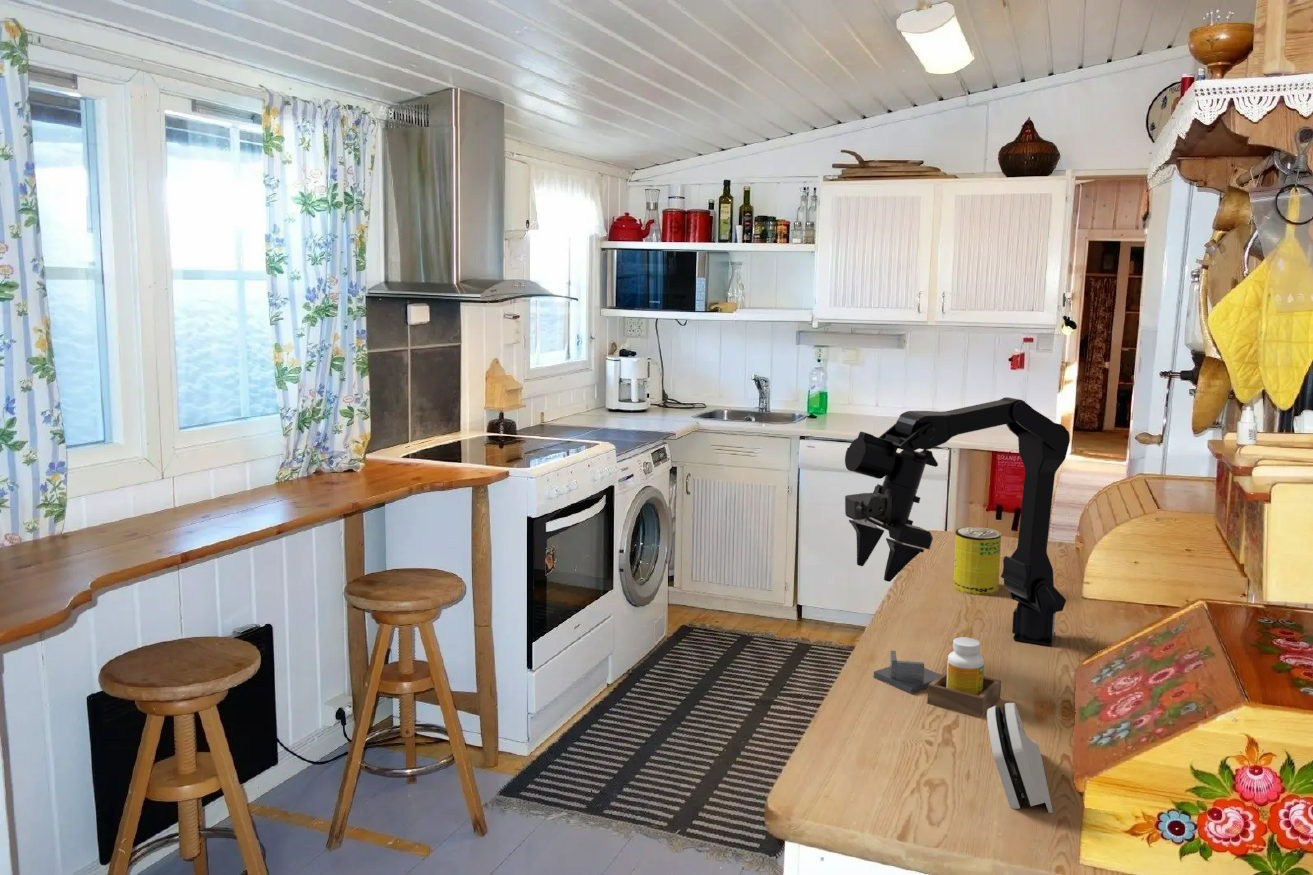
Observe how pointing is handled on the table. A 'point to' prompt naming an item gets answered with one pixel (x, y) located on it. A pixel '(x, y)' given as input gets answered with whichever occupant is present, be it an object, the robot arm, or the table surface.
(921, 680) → the v-block
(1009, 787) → the white black-striped casing block
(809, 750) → the table surface
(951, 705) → the block
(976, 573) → the beverage can
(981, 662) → the supplement bottle
